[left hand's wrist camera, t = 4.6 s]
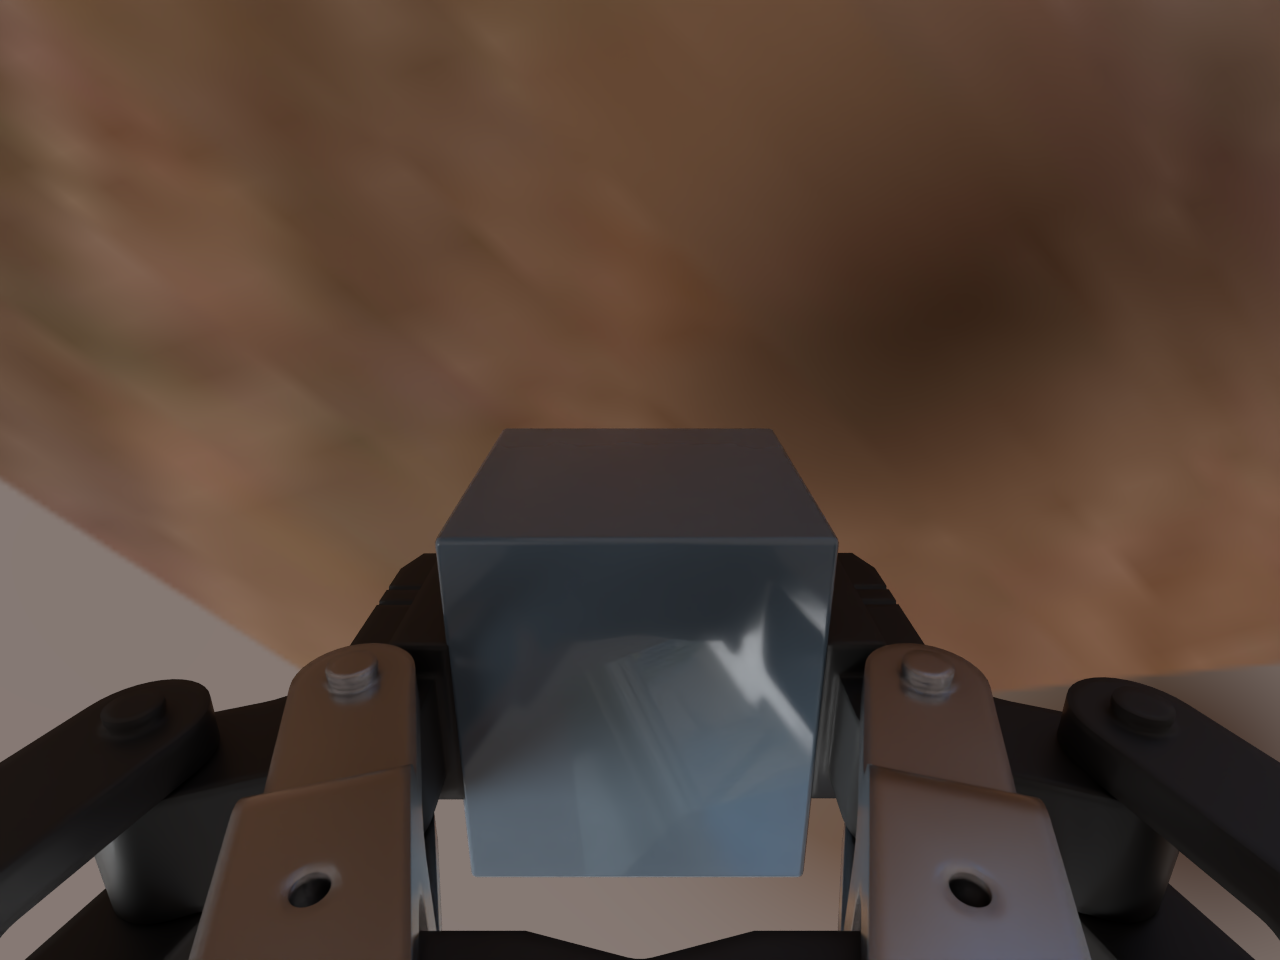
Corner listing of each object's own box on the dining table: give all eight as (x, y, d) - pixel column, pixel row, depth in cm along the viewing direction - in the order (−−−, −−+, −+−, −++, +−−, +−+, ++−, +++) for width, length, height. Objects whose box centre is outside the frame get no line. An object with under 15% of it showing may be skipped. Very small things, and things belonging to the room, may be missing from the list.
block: (520, 682, 13) (470, 880, 9) (502, 427, 11) (431, 539, 8) (755, 682, 13) (804, 880, 9) (773, 427, 11) (842, 539, 8)
